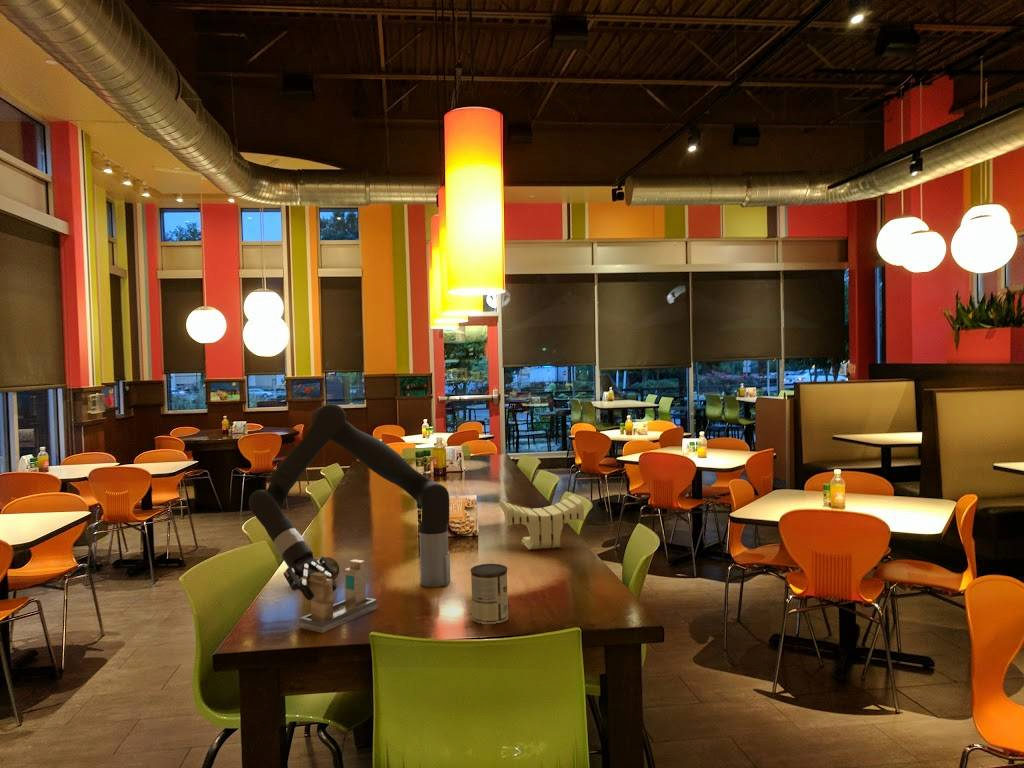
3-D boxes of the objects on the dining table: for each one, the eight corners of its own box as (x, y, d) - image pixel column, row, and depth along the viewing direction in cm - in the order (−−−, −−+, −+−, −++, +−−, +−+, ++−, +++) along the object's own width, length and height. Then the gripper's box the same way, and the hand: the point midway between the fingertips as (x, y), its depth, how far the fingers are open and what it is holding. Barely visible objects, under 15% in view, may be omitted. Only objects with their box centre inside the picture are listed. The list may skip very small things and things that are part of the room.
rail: (355, 604, 220) (354, 556, 219) (377, 608, 215) (375, 559, 215) (300, 627, 201) (298, 575, 201) (322, 633, 197) (320, 579, 196)
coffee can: (472, 612, 210) (471, 564, 210) (507, 611, 211) (506, 562, 210) (471, 625, 200) (470, 574, 200) (509, 624, 200) (507, 573, 200)
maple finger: (322, 616, 206) (321, 570, 205) (333, 618, 203) (332, 572, 203) (311, 620, 202) (309, 574, 202) (322, 623, 200) (320, 576, 199)
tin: (292, 586, 239) (291, 561, 239) (292, 584, 242) (292, 558, 242) (339, 582, 243) (338, 557, 243) (339, 579, 246) (338, 554, 246)
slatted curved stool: (508, 553, 276) (507, 506, 275) (500, 543, 291) (499, 498, 291) (584, 547, 281) (583, 501, 281) (572, 538, 297) (572, 494, 297)
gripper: (279, 545, 200) (310, 593, 195) (318, 534, 212) (348, 579, 207) (266, 562, 203) (297, 609, 197) (305, 550, 215) (335, 595, 210)
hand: (323, 594), depth 202 cm, fingers open, 8 cm apart
